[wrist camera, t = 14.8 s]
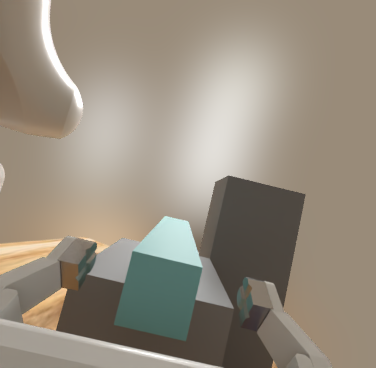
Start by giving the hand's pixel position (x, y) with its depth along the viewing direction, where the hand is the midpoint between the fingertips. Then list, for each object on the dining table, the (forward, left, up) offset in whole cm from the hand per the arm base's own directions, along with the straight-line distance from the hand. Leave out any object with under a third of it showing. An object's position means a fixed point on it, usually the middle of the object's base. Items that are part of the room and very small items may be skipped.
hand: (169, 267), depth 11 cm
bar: (-10, +7, -4) cm, 13 cm away
